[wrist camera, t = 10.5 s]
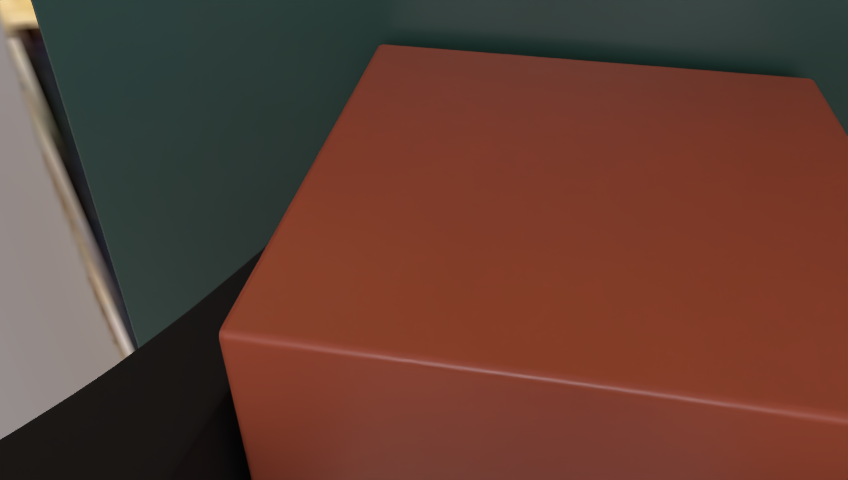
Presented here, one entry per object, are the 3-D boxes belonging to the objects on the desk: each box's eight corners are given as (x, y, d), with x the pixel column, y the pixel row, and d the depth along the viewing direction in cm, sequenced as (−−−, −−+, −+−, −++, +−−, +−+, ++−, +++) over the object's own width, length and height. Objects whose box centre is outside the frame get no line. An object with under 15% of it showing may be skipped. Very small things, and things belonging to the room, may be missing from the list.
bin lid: (930, 503, 13) (944, 533, 12) (170, 390, 15) (157, 412, 14) (1515, -276, 6) (1597, -276, 6) (-29, -306, 8) (-67, -308, 7)
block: (702, 376, 11) (771, 752, 7) (386, 334, 12) (290, 660, 8) (815, 76, 8) (1045, 447, 4) (378, 41, 9) (212, 332, 5)
